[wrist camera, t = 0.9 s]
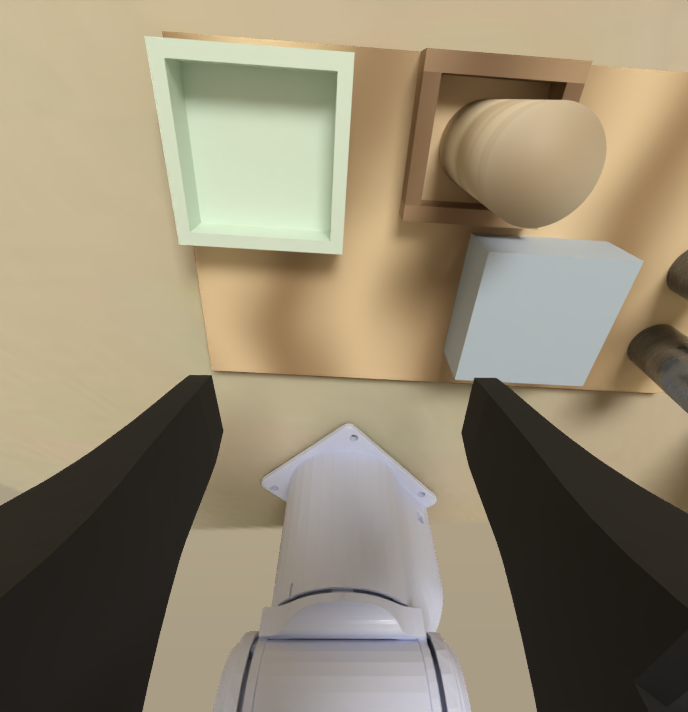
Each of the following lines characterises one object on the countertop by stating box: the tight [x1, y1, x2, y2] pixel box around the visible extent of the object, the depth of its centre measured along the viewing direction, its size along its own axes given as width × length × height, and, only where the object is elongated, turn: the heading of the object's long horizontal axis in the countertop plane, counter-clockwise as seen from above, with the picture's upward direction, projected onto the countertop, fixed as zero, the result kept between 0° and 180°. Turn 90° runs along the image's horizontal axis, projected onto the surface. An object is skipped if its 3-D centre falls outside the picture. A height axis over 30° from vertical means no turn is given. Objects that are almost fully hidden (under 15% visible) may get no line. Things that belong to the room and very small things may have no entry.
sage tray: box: [145, 36, 355, 255], centre depth 15 cm, size 6×6×2 cm
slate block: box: [443, 233, 644, 386], centre depth 18 cm, size 6×6×2 cm
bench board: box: [162, 31, 688, 394], centre depth 17 cm, size 25×14×2 cm, turn 86°
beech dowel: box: [439, 99, 607, 228], centre depth 13 cm, size 3×3×6 cm
